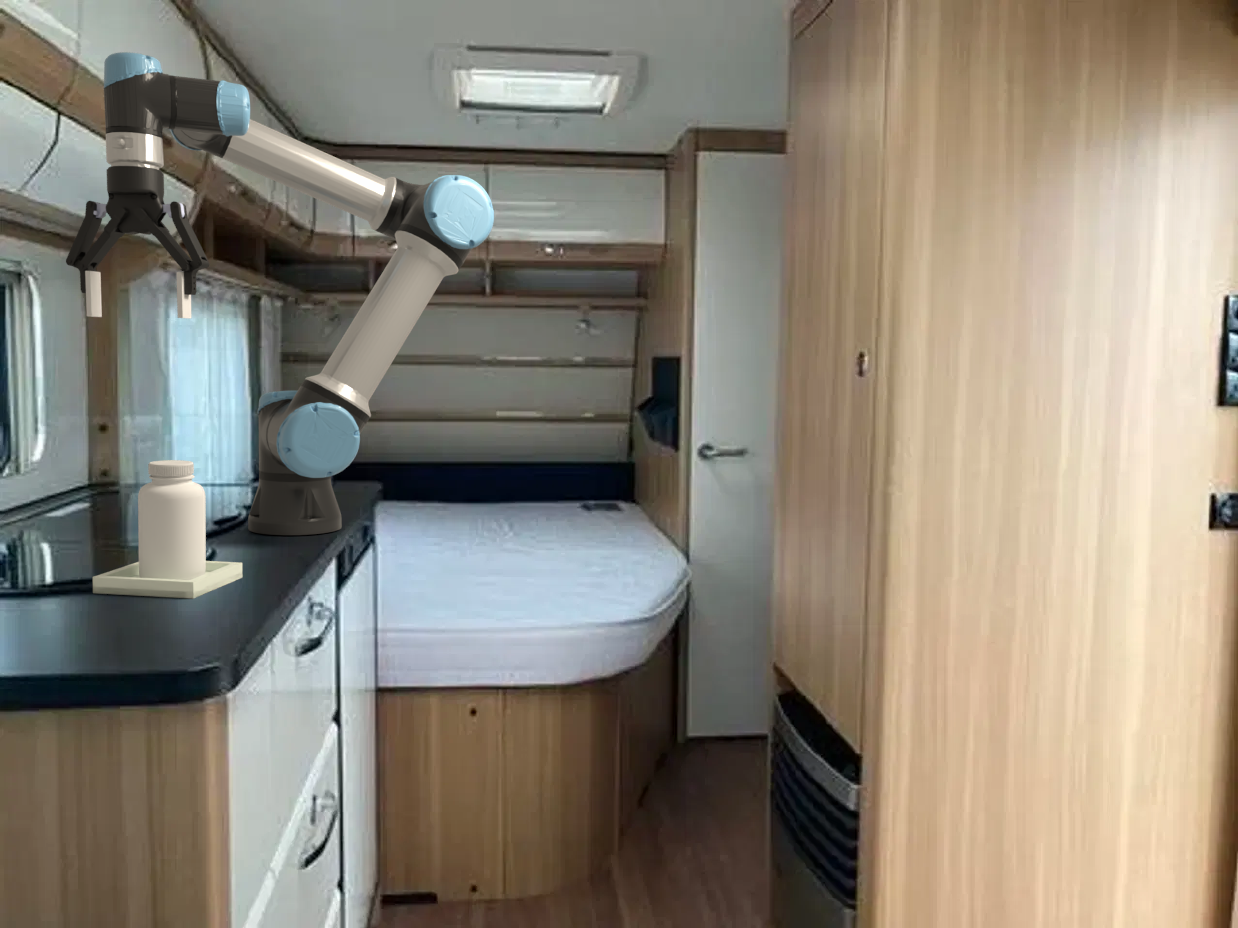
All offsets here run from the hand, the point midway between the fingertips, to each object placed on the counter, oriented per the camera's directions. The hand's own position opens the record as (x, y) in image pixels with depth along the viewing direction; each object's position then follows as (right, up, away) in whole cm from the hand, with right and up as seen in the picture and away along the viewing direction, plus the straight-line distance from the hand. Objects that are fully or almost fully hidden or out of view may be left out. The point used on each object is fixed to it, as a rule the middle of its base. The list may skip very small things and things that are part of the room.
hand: (139, 317), depth 160 cm
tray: (+12, -37, -19) cm, 43 cm away
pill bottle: (+13, -36, -19) cm, 43 cm away
